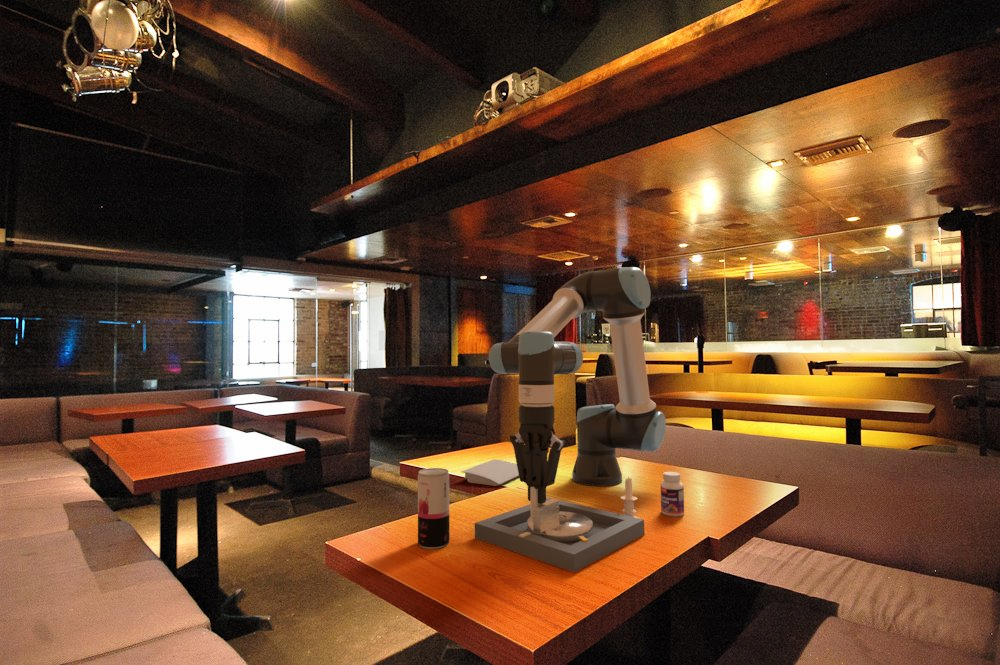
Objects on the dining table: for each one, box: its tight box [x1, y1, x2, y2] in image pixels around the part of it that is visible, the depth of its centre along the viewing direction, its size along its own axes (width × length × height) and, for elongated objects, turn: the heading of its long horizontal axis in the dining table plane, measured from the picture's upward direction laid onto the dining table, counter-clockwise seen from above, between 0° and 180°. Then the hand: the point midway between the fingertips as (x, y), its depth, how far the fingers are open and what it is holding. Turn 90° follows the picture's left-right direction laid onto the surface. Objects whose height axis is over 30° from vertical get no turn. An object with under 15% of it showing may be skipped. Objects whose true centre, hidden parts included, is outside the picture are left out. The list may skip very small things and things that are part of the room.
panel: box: [474, 497, 645, 573], centre depth 111 cm, size 26×26×4 cm
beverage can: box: [417, 467, 451, 550], centre depth 108 cm, size 7×6×15 cm
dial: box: [527, 498, 593, 543], centre depth 110 cm, size 16×14×7 cm
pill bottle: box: [660, 471, 685, 517], centre depth 126 cm, size 5×5×10 cm
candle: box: [620, 476, 641, 519], centre depth 121 cm, size 5×5×10 cm
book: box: [460, 458, 519, 487], centre depth 164 cm, size 15×23×4 cm, turn 151°
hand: (537, 517), depth 107 cm, fingers closed
